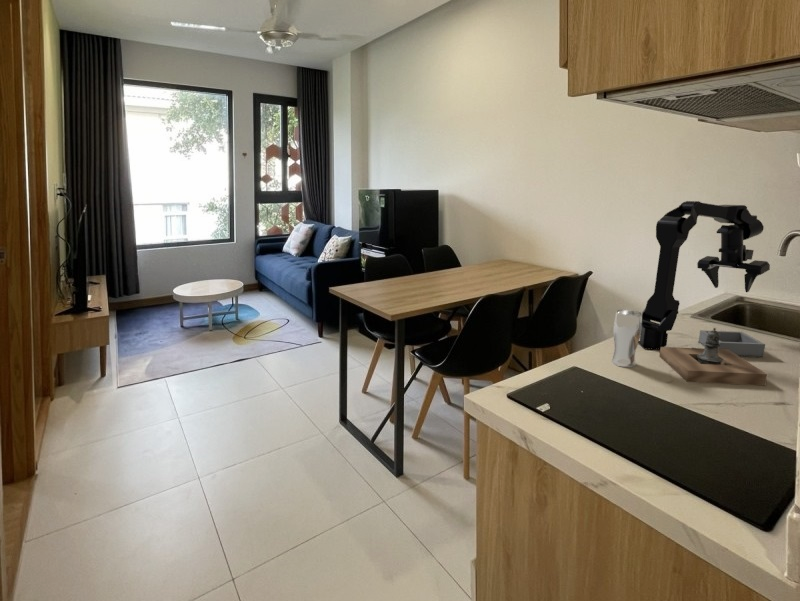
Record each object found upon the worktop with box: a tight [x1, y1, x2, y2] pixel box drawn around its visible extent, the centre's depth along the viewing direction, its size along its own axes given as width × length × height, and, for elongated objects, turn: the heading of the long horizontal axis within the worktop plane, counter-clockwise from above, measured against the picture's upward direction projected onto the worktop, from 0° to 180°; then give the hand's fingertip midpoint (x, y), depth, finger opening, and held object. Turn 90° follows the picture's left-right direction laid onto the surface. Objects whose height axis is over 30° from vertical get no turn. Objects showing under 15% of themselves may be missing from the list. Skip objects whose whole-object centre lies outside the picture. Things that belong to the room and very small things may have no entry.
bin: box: [698, 329, 766, 358], centre depth 138 cm, size 12×12×4 cm
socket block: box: [658, 346, 768, 386], centre depth 123 cm, size 18×18×3 cm
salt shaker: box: [697, 327, 723, 365], centre depth 122 cm, size 6×6×12 cm
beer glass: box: [611, 308, 642, 368], centre depth 127 cm, size 7×7×15 cm
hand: (731, 289), depth 150 cm, fingers open, 9 cm apart
